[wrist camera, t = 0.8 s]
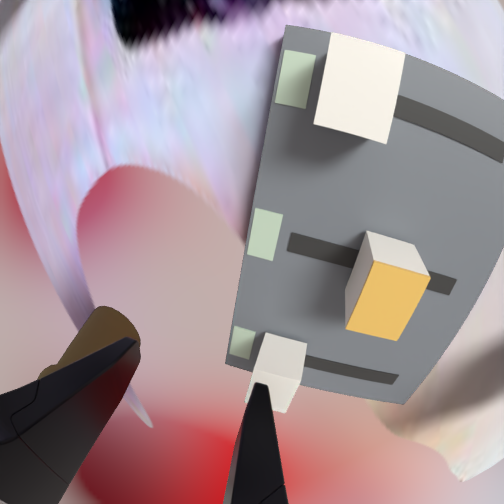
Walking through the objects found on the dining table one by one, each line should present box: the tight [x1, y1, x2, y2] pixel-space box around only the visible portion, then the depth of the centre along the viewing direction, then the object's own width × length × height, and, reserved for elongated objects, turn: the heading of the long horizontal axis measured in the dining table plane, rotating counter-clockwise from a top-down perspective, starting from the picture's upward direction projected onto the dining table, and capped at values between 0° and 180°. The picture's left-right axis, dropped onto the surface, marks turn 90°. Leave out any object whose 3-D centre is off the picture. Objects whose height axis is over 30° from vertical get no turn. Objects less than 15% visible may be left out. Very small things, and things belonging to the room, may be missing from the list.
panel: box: [225, 25, 504, 405], centre depth 18 cm, size 16×24×2 cm, turn 171°
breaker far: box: [244, 333, 307, 413], centre depth 20 cm, size 3×4×4 cm
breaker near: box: [314, 32, 405, 144], centre depth 11 cm, size 3×4×4 cm
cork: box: [37, 306, 140, 380], centre depth 23 cm, size 6×6×11 cm
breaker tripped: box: [345, 230, 431, 341], centre depth 15 cm, size 3×4×4 cm
